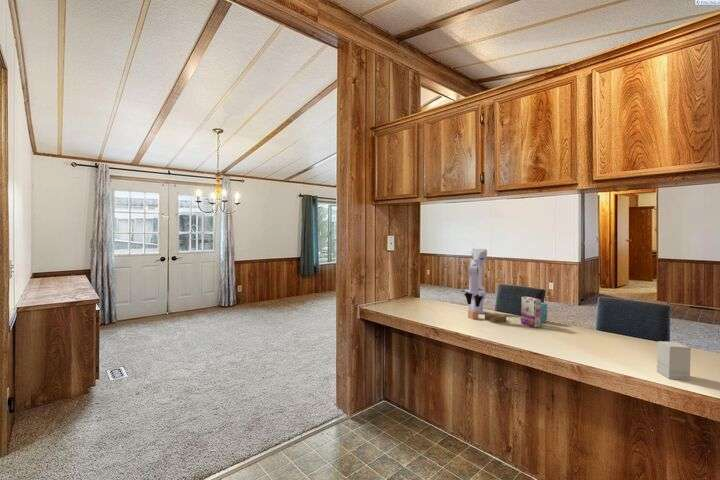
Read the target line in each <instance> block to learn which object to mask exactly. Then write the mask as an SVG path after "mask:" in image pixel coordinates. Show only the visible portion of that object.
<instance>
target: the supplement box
mask: <svg viewBox="0 0 720 480" xmlns="http://www.w3.org/2000/svg"><path fill="white" fill-rule="evenodd" d="M656 345H657V347H656V349H657V351H656V353H657V354H656V356H657V357H656V372H657V373H658V372H659V374H660V375H662V376H664V377H665V378H667V379H670V380H679V379H680V380H682V381H690V380H691V350H692V349H691V347H690V346H687V345H684V344H683V343H680V342H678V341H666V340H665V341H661V340H660V341H657V344H656Z"/></svg>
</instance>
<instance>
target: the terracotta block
mask: <svg viewBox="0 0 720 480" xmlns="http://www.w3.org/2000/svg"><path fill="white" fill-rule="evenodd" d="M467 318H468V319H470V320H479V314H478V311H476V310H469V309H468V310H467Z"/></svg>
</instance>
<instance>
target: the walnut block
mask: <svg viewBox="0 0 720 480" xmlns="http://www.w3.org/2000/svg"><path fill="white" fill-rule="evenodd" d="M484 320H486V321H489V322H492V323H503V322H507V316H506V315H503V314H500V313H496V312H494V313H484Z"/></svg>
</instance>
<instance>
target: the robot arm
mask: <svg viewBox="0 0 720 480" xmlns="http://www.w3.org/2000/svg"><path fill="white" fill-rule="evenodd" d="M487 257H488V250H487V249H486V248H472V249H471V259H472V260H471V262H470V264H469V266H468V268H467V273H468V289H465V288H464V294H463V295H464V297H465V298H466V299H465V300H466V303H467V305H468V310H476V311H478V315H479V314H487V313H486V311H484V300H485V299H486V297H487V296H486V294H487V293H486V288H485V286H483V283H482V282H483V272H484V271H483V267H484V264H485V263H486V262H487V259H488V258H487Z"/></svg>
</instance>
